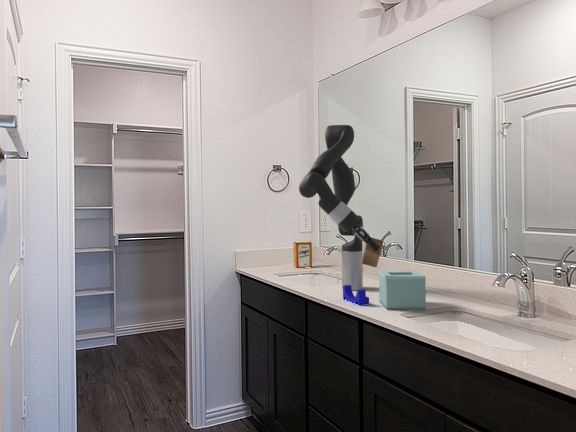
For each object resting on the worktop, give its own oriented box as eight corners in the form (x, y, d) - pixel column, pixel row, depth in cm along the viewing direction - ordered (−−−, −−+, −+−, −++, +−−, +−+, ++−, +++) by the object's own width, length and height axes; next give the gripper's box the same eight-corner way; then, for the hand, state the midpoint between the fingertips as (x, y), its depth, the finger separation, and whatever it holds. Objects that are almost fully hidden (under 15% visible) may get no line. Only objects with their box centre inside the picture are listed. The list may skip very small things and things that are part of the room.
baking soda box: (308, 266, 278) (308, 240, 278) (311, 268, 272) (311, 241, 271) (293, 267, 276) (293, 241, 275) (296, 268, 269) (296, 242, 269)
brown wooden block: (360, 262, 167) (367, 236, 166) (375, 266, 167) (381, 240, 166) (361, 263, 164) (369, 237, 163) (376, 267, 164) (383, 241, 163)
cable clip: (369, 305, 171) (369, 289, 171) (359, 306, 170) (358, 290, 170) (352, 299, 183) (352, 284, 182) (343, 300, 181) (342, 285, 181)
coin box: (379, 301, 176) (379, 271, 176) (415, 301, 176) (414, 270, 176) (386, 309, 162) (386, 276, 162) (425, 309, 162) (425, 276, 162)
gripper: (353, 209, 158) (388, 243, 158) (348, 208, 172) (380, 240, 172) (338, 224, 158) (373, 258, 158) (334, 222, 172) (366, 254, 172)
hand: (377, 249), depth 165 cm, fingers closed on brown wooden block, 2 cm apart
